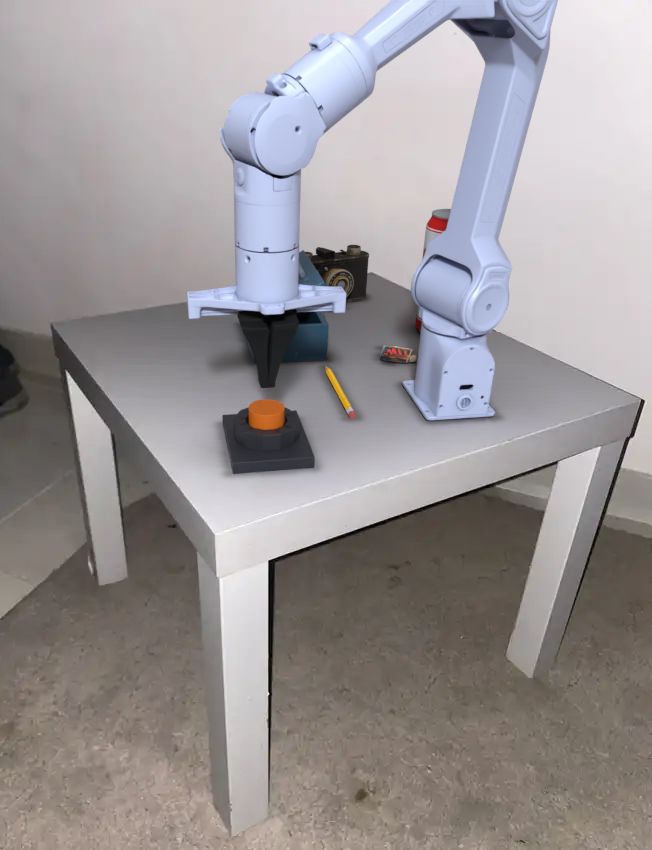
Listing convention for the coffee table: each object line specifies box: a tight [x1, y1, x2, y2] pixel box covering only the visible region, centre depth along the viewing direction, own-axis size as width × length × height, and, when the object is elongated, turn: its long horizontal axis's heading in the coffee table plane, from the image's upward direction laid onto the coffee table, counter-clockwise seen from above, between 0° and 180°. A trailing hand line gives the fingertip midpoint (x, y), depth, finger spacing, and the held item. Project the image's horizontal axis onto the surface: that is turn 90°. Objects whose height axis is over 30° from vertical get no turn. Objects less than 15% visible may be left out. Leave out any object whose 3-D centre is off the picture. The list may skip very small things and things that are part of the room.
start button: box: [248, 398, 286, 430], centre depth 77 cm, size 4×4×2 cm
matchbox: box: [379, 345, 418, 364], centre depth 99 cm, size 5×5×1 cm
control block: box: [222, 406, 316, 475], centre depth 78 cm, size 10×8×3 cm
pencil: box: [325, 365, 357, 419], centre depth 90 cm, size 1×13×1 cm, turn 12°
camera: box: [305, 244, 370, 303], centre depth 113 cm, size 16×7×8 cm, turn 117°
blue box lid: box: [298, 249, 326, 286], centre depth 98 cm, size 10×13×5 cm
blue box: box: [242, 311, 329, 365], centre depth 101 cm, size 9×13×5 cm
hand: (266, 383), depth 75 cm, fingers closed
